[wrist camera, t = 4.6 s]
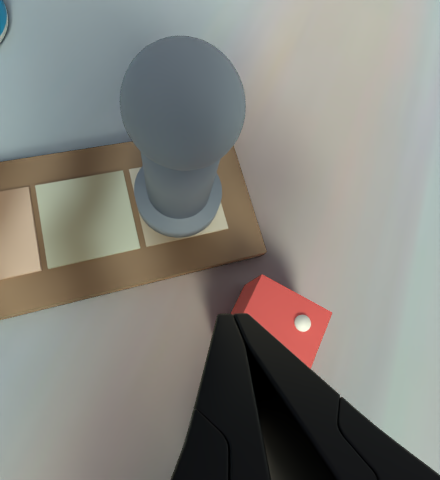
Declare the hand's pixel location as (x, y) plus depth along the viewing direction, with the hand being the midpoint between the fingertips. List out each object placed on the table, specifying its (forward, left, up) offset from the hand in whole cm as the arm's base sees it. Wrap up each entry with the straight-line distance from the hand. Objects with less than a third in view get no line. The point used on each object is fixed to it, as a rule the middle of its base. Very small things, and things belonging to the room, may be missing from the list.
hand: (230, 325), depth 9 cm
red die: (-3, -3, -13) cm, 14 cm away
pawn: (+7, -5, -12) cm, 15 cm away
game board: (+10, +1, -13) cm, 16 cm away
